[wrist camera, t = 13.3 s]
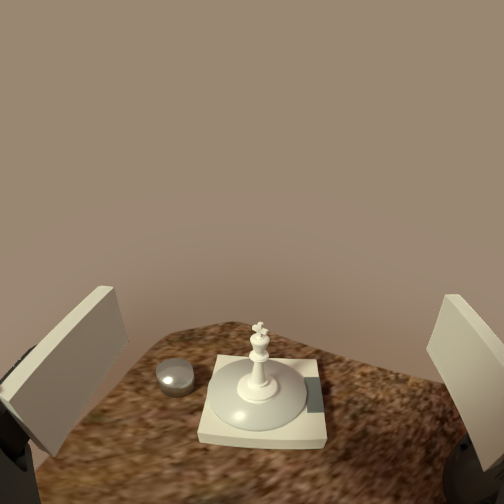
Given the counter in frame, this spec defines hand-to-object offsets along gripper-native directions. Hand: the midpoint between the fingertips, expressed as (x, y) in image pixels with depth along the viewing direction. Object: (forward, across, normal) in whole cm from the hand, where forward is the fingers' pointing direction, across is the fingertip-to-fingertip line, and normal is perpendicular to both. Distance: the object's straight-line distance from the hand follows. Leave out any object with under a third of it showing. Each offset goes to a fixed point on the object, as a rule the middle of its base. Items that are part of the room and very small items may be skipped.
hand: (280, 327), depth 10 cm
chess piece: (+15, -2, -21) cm, 26 cm away
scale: (+15, -1, -24) cm, 28 cm away
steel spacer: (+17, -13, -23) cm, 32 cm away
